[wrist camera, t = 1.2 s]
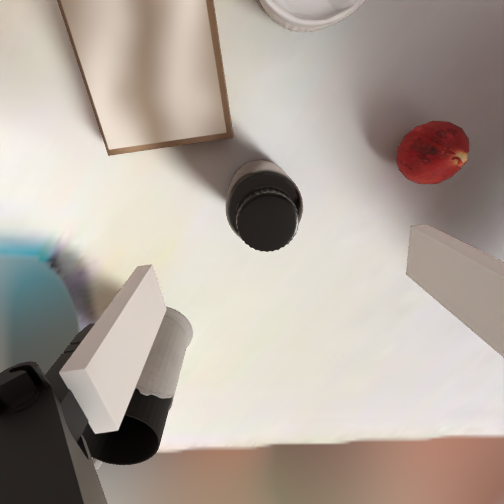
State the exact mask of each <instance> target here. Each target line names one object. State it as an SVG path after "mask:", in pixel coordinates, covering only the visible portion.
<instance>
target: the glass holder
mask: <svg viewBox="0 0 504 504" xmlns="http://www.w3.org/2000/svg"><path fill="white" fill-rule="evenodd" d="M166 308H167V310H166V312H165V315H164V317H163V320H162V322H161V325H160V327H159V330H158V332H157V335H156V337H155V340H154V342H153V345H152V347H151V350H150V352H149V355H148V357H147V360H146V362H145V365H144V367H143V370H142V372H141V375H140V377H139V380H138V382H137V385H136V387H135V390H134V392H133V395H132V397H131V400H130V402H129V405H128V407H127V410H126V412H125V415H124V417H123V420H122V422H121V425H120V427H119V430H118V431H112V432H105V433H98V434H95V433H94V431H93V430H92V428H91V426H90V425H89V423H87V425H86V427H85V429H84V431H83V433H82V436H83V437H84V439H85V441H86V443H87V446H88V449H89V452H90V455H91V457H93V460H92V461H93V464H94V466H95V469H96V470H97V469H98V468H99V467H100V465H101V463H102V462H105V463H109V464H116V465H131V464H137V463H140V462H143V461H145V460H148V459H149V458H151V457H152V456H153V455H154V454H155V453H156V452H157V450H158V449H159V445H160V442H161V438H162V434H163V430H164V426H165V422H166V419H167V415H168V411H169V409H170V408H171V405H172V402H173V398H174V394H175V390H176V386H177V382H178V378H179V374H180V370H181V367H182V363H183V359H184V355H185V351H186V348H187V346H188V345H189V344H190V342H191V340H192V335H193V331H192V327H191V324H190V322H189V321H188V319H187V318H186V317H185V316H184V315H182V314H181V313H180V312H178V311H176V310H174V309H171V308H168V307H166Z"/></svg>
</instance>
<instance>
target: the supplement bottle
mask: <svg viewBox="0 0 504 504" xmlns="http://www.w3.org/2000/svg"><path fill="white" fill-rule="evenodd" d="M302 212H303V201H302V197H301V194H300V191H299V189H298V187H297V186H296V184H295V183H294V182H293V181H292V180H291V178H290V177H289V176H288V175H287V174H286V173H285V172H284V171H283V170H282V169H281V168H280V167H279V166H278V165H276V164H274V163H272V162H270V161H266V160H254V161H251V162H248V163H246V164H244V165H243V166H242V167H240V168H239V169H238V170H237V171H236V173H235V174H234V176H233V178H232V180H231V183H230V187H229V191H228V196H227V200H226V216H227V220H228V222H229V225H230V227H231V228H232V230H233V231H234V232H235V234H236V235H237V236H239V237H240V238H241V239H242V240H243V241H245V243H246V244H247V245H249V246H250V247H251V248H254V249H255V250H260V251H266V252H268V251H274V250H279V249H280V248H282V247H284V246H285V245H286V244H288V243H289V242H290V241H291V240H292V239H293V237H294V236H295V235H296V231H297V230H298V225H299V222H300V220H301V217H302Z"/></svg>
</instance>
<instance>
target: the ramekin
mask: <svg viewBox="0 0 504 504" xmlns="http://www.w3.org/2000/svg"><path fill="white" fill-rule="evenodd" d="M259 1H260V3H261V5H262V7H263V8H264V9H265V11H266V13H267V14H268V15H269V16H270V17H271V18H272V19H273V20H274V21H275V22H277V23H278V24H279V25H281V26H283V27H284V28H287V29H289V30H291V31H297V32H300V31H302V32H307V31H314V30H319V29H321V28H324V27H328V26H331V25H333V24H336V23H338V22H339V21H341V20H343V19H345V18H346V17H348V16H349V15H350V14H352V13H353V12H354V11H355V10H356V9H357V8H358V7H360V6H361V5H362V3H363V2H364V1H365V0H259Z"/></svg>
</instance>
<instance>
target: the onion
mask: <svg viewBox="0 0 504 504" xmlns="http://www.w3.org/2000/svg"><path fill="white" fill-rule="evenodd" d="M468 152H469V140H468V138H467V136H466V134H465V133H464V131H463V130H462V128H460V127H458V126H456V125H454V124H452V123H450V122H444V121H431V122H428V123H425V124H423V125H420V126H417V127H415V128H414V129H413V130H412V131H410V132H409V133H408V134H407V135H405V137H404V138H403V140H402V142H401V143H400V145H399V147H398V150H397V158H396V161H397V164H398V167H399V170H400V171H401V172H402V174H403V175H404V176H405V177H406V178H407V179H408V180H411V181H413V182H416V183H419V184H437V183H440V182H442V181H444V180H446V179H448V178H450V177H452V176H453V175H454V174H455V173H456V172H458V171H459V170H460V169H461V167H462V166H463V165H464V164H465V163H466V162H467V161H468V158H467V156H468Z"/></svg>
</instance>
